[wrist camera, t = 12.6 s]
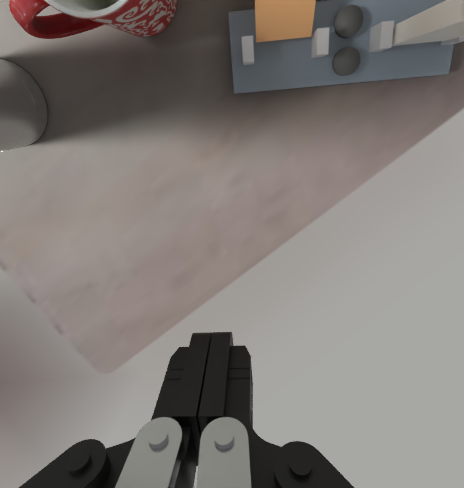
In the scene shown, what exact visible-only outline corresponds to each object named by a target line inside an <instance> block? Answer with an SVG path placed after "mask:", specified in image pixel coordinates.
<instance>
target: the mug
mask: <svg viewBox="0 0 464 488" xmlns="http://www.w3.org/2000/svg"><path fill="white" fill-rule="evenodd" d="M177 2H178V0H10V4H9V6H10V11H11V13H12V15H13V17H14V18H15V20H16V21H17V22H18V23H19V24H20V26H21V27H22V28H23V29H24V30H25V31H26V32H27V33H29V34H30V35H32V36H35V37H38V38H44V39H54V38H62V37H67V36H71V35H75V34H79V33H82V32H85V31H88V30H91V29H94V28H97V27H99V26H102V25H104V24H105V25H108V26H111V27H114V28H116V29H119V30H122V31H125V32H128V33H130V34H133V35H136V36H141V37H148V36H153V35H156V34H158V33H160V32H162V31H163V30H164V29H165V28H166V27H167V26H168V25H169V24H170V22H171V21H172V19H173V17H174V14H175V11H176V7H177ZM50 5H51V6H52V7H54V8H55V9H57V10H59V11H61V12H63V13H59V14H55V15H49V16H36V15H37V14H39V13H40V12H41V11H42V10H43V9H44V8H46V7H48V6H50Z"/></svg>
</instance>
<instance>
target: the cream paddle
mask: <svg viewBox="0 0 464 488" xmlns="http://www.w3.org/2000/svg"><path fill="white" fill-rule="evenodd" d="M461 36H464V0H446V1H443V2H441V3H439V4H437V5H435V6H433V7H431V8H429V9H427V10H425V11H423V12H421V13H418V14H416V15H414V16H412V17H410V18H408V19H406V20H404V21H402V22H400V23H398V24H396V25H394V29H393V38H392V46H397V45H407V44H417V43H426V42H436V41H446V40H450V39H454V38H458V37H461Z"/></svg>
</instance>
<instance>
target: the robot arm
mask: <svg viewBox="0 0 464 488" xmlns="http://www.w3.org/2000/svg"><path fill="white" fill-rule="evenodd" d="M46 124H47V107H46V102H45V99H44V96H43V94H42V92H41V90H40V88H39V87H38V85H37V83H36V82H35V81H34V80H33V78H32V77H31V76H30V75H29V74H28V73H27V72H26V71H25V70H23V69H22V68H21V67H19V66H17V65H16V64H14V63H12V62H9V61H6V60H3V59H0V152H1V151H6V150H10V149H14V148H19V147H23V146H27V145H30V144H32V143H34V142H35V141H37V140H38V139H39V138H40V137H41V135H42V134H43V132H44V130H45V128H46ZM252 408H253V382H252V370H251V356H250V354H249V352H248V351H247V348H246V347H245V346H233V338H232V332H213V333H193V334H192V337H191V341H190V345H189V347H179V348H178V349H177V351H176V352H175V353H174V354H173V355H172V357H171V359H170V362H169V365H168V368H167V372H166V375H165V378H164V382H163V384H162V387H161V391H160V394H159V397H158V400H157V403H156V407H155V410H154V413H153V416H152V419H151V421H150V422H148V423H147V424H146V425H144V426H143V427H142V428H141V430H140V431H139V433H138V434H137V436H136V438H134V439H132V440H130V441H128V442H125V443H122V444H119V445H116V446H113V447H109V448H106V449H105V447H104V445H103V444H102V443H101V442H100V441H98V440H95V439H88V440H84V441H81V442H78V443H76V444H75V445H73V446H72V447H70V448H69V449H67V450H66V451H65V452H64V453H62V454H61V455H60V456H59V457H57V458H56V459H55V460H54V461H52V462H51V463H50V464H48V465H47V466H46V467H45V468H43V469H42V470H41V471H39V472H38V473H37V474H36V475H34V476H33V477H32V478H31V479H29V480H28V481H27V482H26V483H24V484H23V485H22V486H20V487H19V488H194V479H195V472H196V466H198V477H197V488H354V487H353V486H352V485H351V484H350V483H349V482H348V481H347V480H346V479H345V478H344V477H343V476H342V475H341V474H340V472H338V471H337V469H336V468H335V467H334V466H333V465H332V464H331V463H330V462H329V461H328V460H327V459H326V458H325V457H324V456H323V455H322V454H321V453H320V452H319V451H318V450H317V449H316V448H315V447H313V446H312V445H310V444H308V443H305V442H299V441H296V442H289V443H287V444H285V445H284V446H282V447H279V446H276V445H274V444H271V443H268V442H266V441H264V440H263V439H261V438H260V437H259V436H258V435H257V434H256V433H255V431H254V430H253V409H252Z"/></svg>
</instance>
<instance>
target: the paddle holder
mask: <svg viewBox="0 0 464 488" xmlns="http://www.w3.org/2000/svg"><path fill="white" fill-rule="evenodd" d="M443 1H446V0H328V1H319V2H316V3H315V11H314V19H313V27H312V35H311V37H304V38H294V39H284V40H275V41H265V42H256V24H255V9H249V10H240V11H231V12H228V18H229V32H230V45H231V59H232V73H233V87H234V94H238V93H249V92H260V91H271V90H282V89H293V88H304V87H314V86H325V85H336V84H347V83H358V82H369V81H380V80H391V79H402V78H413V77H424V76H435V75H446V74H449V70H450V65H451V59H452V54H453V48H454V44H456V43H460V42H464V36H461V37H458V38H454V39H450V40H446V41H436V42H426V43H417V44H407V45H397V46H392V38H393V29H394V25H396V24H398V23H400V22H402V21H404V20H406V19H408V18H410V17H412V16H414V15H416V14H418V13H421V12H423V11H425V10H427V9H429V8H431V7H433V6H435V5H437V4H439V3H441V2H443Z"/></svg>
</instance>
